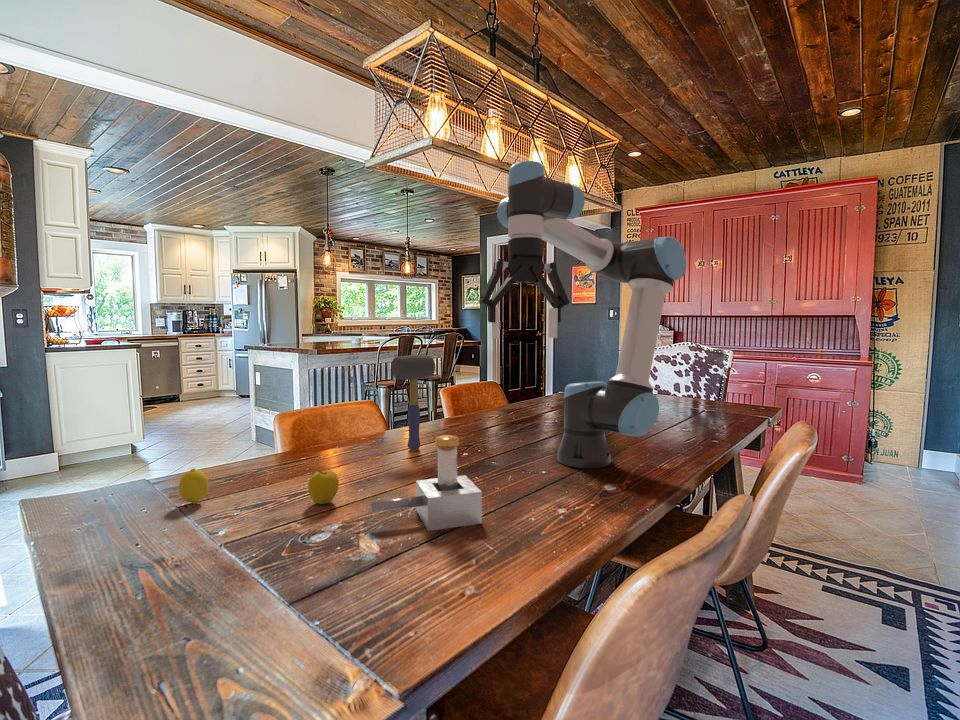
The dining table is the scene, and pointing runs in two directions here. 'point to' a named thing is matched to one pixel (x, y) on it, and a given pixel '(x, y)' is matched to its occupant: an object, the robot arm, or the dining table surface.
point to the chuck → (440, 504)
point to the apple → (323, 486)
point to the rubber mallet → (413, 388)
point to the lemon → (193, 486)
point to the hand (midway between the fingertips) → (524, 338)
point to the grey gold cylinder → (447, 462)
